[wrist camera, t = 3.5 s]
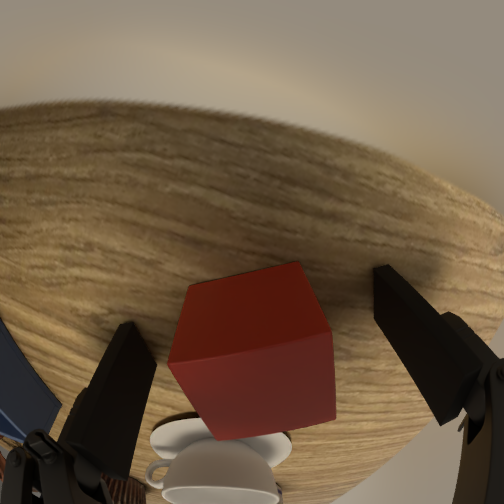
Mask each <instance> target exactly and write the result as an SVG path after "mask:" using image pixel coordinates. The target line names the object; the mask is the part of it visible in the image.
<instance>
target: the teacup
mask: <svg viewBox="0 0 504 504" xmlns="http://www.w3.org/2000/svg"><path fill="white" fill-rule="evenodd" d="M150 444H151V446H152V448H153V450H154V451H155V452H156V453H157V454H158V455H159V456H160V457H162V458H163V459H161V460H156V461H154V462H152V463H151V464H150V465H149V466H148V467H147V469H146V473H145V478H146V481H147V482H148V483H149V484H150V485H151V486H153V487H155V488H158V489H162V488H163V489H162V493H161V494H162V496H163V498H164V499H166V500H167V501H169V502H171V503H173V504H277V503H278V502H279V499H280V497H279V494H278V490H277V486H276V483H275V479H274V476H273V473H272V470H271V468H272V467H274V466H276V465H278V464H279V463H281V462H282V461H284V460H285V459H286V458H287V457H288V456H289V454H290V452H291V449H292V445H291V442H290V440H289V438H288V437H287V436H286V435H284V434H283V433H281V432H280V433H275V434H269V435H263V436H256V437H249V438H241V439H233V440H223V441H217V440H216V439H215V438H214V436H213V435H212V433H211V432H210V431H209V429H208V428H207V426H206V425H205V424H204V422H203V421H202V419H201V418H192V419H184V420H178V421H173V422H170V423H167V424H164V425H162V426H160V427H158V428H157V429H156V430H154V431H153V433H152V434H151V437H150ZM159 467H169V469H168V471H167V474H166V475H165V476H164V477H163V478H162V479H160V480H158V481H154V480H152V474H153V472H154V470H155V469H157V468H159Z"/></svg>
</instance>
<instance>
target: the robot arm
mask: <svg viewBox="0 0 504 504" xmlns="http://www.w3.org/2000/svg"><path fill="white" fill-rule="evenodd" d="M373 273H374V320H375V321H376V323H377V324H378V326H379V327H380V329H381V330H382V332H383V333H384V335H385V336H386V338H387V339H388V341H389V342H390V344H391V346H392V347H393V349H394V350H395V352H396V353H397V355H398V356H399V358H400V360H401V361H402V363H403V364H404V366H405V367H406V369H407V371H408V372H409V374H410V376H411V377H412V379H413V380H414V382H415V384H416V385H417V387H418V389H419V390H420V392H421V394H422V395H423V397H424V399H425V401H426V402H427V404H428V406H429V407H430V409H431V411H432V413H433V414H434V416H435V418H436V420H437V421H438V423H439V425H440V426H442V425H444V424H445V423H447V422H449V421H451V420H453V419H455V418H456V417H458V415H459V413H460V412H461V410H462V408H464V409H465V411H466V412H467V414H466V416H465V417H464V419H463V421H462V422H461V424H460V426H459V428H458V432H460V431H461V430H462V428H463V427H464V433H463V444H462V453H461V460H460V467H459V473H458V479H457V484H456V489H455V493H454V498H453V502H452V504H504V358H502V359H499V358H498V357H497V356H496V355H495V354H494V353H493V351H492V350H491V349H490V348H489V347H488V346H487V345H486V344H485V343H484V341H483V340H482V339H481V338H480V337H479V336H478V335H477V334H475V333H474V331H473V330H472V329H471V328H470V327H468V325H467V324H466V323H465V322H464V321H463V320H462V319H461V318H460V317H459V316H457V315H455V314H453V313H451V312H449V311H448V312H446V313H444V314H441V315H440V314H439V313H438V312H437V311H436V310H435V309H434V308H433V307H432V306H431V305H430V304H429V303H428V302H427V301H426V300H425V299H424V298H423V297H422V296H421V295H420V294H419V293H418V292H417V291H416V290H415V289H414V288H413V287H412V286H411V285H410V284H409V283H408V282H407V281H406V280H405V279H404V278H403V277H402V276H401V275H400V274H399V273H398V272H397V271H395V270H394V269H393V268H392V267H391V266H390V265H389V264H387V265H383V266H380V267H376V268H373ZM156 367H157V364H156V362H155V360H154V359H153V357H152V355H151V353H150V352H149V350H148V348H147V346H146V344H145V343H144V341H143V339H142V337H141V335H140V333H139V332H138V330H137V328H136V326H135V324H134V322H130V323H124V324H120V325H119V327H118V329H117V330H116V332H115V334H114V336H113V338H112V340H111V342H110V344H109V346H108V347H107V349H106V351H105V353H104V355H103V357H102V359H101V361H100V363H99V365H98V367H97V369H96V371H95V373H94V375H93V377H92V379H91V381H90V384H89V386H88V388H84V389H83V390H82V391H81V393H80V394H79V395H78V396H77V398H76V400H75V402H74V404H73V408H72V409H71V411H70V413H69V414H70V415H68V417H67V420H66V422H65V424H64V426H63V429H62V431H61V434H60V436H59V438H58V441H57V442H56V441H55V440H54V439H52V438H51V437H50V436H49V435H48V434H47V433H46V432H45V431H44V430H42V429H35V430H33V431H31V432H30V433H29V434H28V435H27V436H26V438H25V440H24V442H23V448H24V449H25V450H26V451H28V452H29V453H30V454H31V455H29V454H28V453H27V452H25V451H24V450H23V449H22V448H20V447H17V448H14V449H12V450H11V451H10V452H9V454H8V456H7V459H6V464H5V470H4V476H3V484H2V492H1V503H0V504H113V501H112V499H111V496H110V493H109V491H108V488H107V485H106V483H105V481H104V480H103V479H102V478H101V475H102V472H103V473H104V474H106V475H107V476H109V477H110V478H111V479H117V480H123V481H128V477H129V473H130V468H131V463H132V459H133V455H134V450H135V446H136V442H137V438H138V434H139V430H140V426H141V422H142V418H143V414H144V410H145V406H146V403H147V399H148V395H149V392H150V388H151V385H152V381H153V378H154V374H155V371H156ZM32 488H34V489H35V490H36V491H38V492H40V493H41V496H40V498H38V497H37V496H35V495H33V494H32Z"/></svg>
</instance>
